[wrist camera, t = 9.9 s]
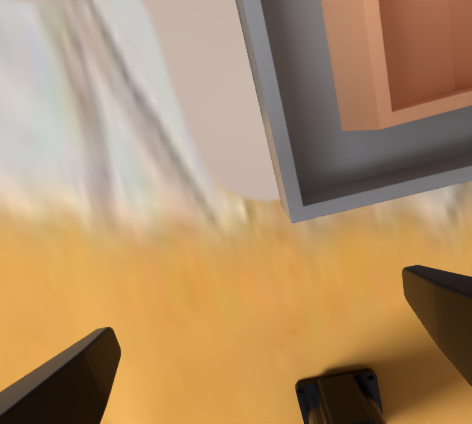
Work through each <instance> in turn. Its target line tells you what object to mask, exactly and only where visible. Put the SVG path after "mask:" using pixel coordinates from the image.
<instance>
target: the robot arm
mask: <svg viewBox="0 0 472 424" xmlns="http://www.w3.org/2000/svg"><path fill="white" fill-rule="evenodd" d="M402 278H403V287H404V295H405V298H406V300H407V302H408V303H409V305H410V306H411V308H412V309H413V311H414V312H415V314H416V315H417V316H418V318H419V319H420V321H421V322H422V324H423V325H424V327H425V328H426V330H427V331H428V333H429V334H430V336H431V337H432V339H433V340H434V341H435V343H436V344H437V345H438V347H439V348H440V349H441V351H442V352H443V353H444V354H445V355H446V357H447V358H448V359H449V360H450V361H451V363H452V364H453V365H454V366H455V367H456V369H457V370H458V371H459V372H460V373H461V374H462V376H463V377H464V378H465V379H466V380H467V382H468V383H469V384H470V385H471V386H472V277H470V276H465V275H461V274H456V273H452V272H447V271H443V270H438V269H434V268H430V267H425V266H421V265H414V266H409V267H405V268H403V270H402ZM120 357H121V349H120V346H119V343H118V341H117V338H116V335H115V333H114V331H113V329H112V328H111V327H104V328H99V329H97V330H95V331H93V332H92V333H90V334H89V335H87V336H86V337H84V338H83V339H81V340H80V341H78V342H77V343H75V344H73V345H72V346H70V347H69V348H67V349H66V350H64V351H63V352H61V353H60V354H58V355H57V356H55V357H53V358H52V359H50V360H49V361H47V362H46V363H44V364H43V365H41V366H40V367H38V368H37V369H35V370H33V371H32V372H30V373H29V374H27V375H26V376H24V377H23V378H21V379H20V380H18V381H17V382H15V383H13V384H12V385H10V386H9V387H7V388H6V389H4V390H3V391H1V392H0V424H100V422H101V420H102V417H103V414H104V411H105V409H106V406H107V403H108V399H109V396H110V393H111V389H112V385H113V382H114V378H115V375H116V371H117V368H118V364H119V361H120ZM369 375H370V376H369ZM301 388H303V389H301ZM295 390H296V394H297V398H298V402H299V406H300V409H301V413H302V417H303V421H304V424H387V423H386V421H385V419H384V417H383V411H382V405H381V399H380V393H379V387H378V381H377V376H376V374H375V372H374V371H373V370H372V369H364V370H359V371H354V372H348V373H343V374H338V375H333V376H328V377H323V378H318V379H313V380H307V381H302V382H298V383H297V384H296V385H295Z"/></svg>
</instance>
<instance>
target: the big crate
mask: <svg viewBox="0 0 472 424" xmlns="http://www.w3.org/2000/svg"><path fill="white" fill-rule="evenodd" d="M236 5H237V9H238V14H239V18H240V22H241V27H242V31H243V35H244V40H245V45H246V49H247V53H248V57H249V62H250V67H251V71H252V76H253V80H254V84H255V89H256V93H257V98H258V102H259V106H260V111H261V115H262V119H263V124H264V128H265V133H266V137H267V142H268V146H269V151H270V155H271V159H272V164H273V168H274V173H275V177H276V182H277V186H278V190H279V195H280V199H281V204H282V207H283V209H284V211H285V212H286V214H287V216H288V218H289V219H290V221H291V223H296V222H300V221H304V220H309V219H313V218H317V217H321V216H325V215H329V214H334V213H338V212H342V211H346V210H350V209H354V208H359V207H363V206H367V205H371V204H375V203H379V202H384V201H388V200H392V199H396V198H400V197H404V196H409V195H413V194H417V193H421V192H425V191H429V190H433V189H438V188H442V187H446V186H450V185H454V184H458V183H463V182H467V181H471V180H472V105H471V106H467V107H463V108H459V109H456V110H452V111H448V112H444V113H441V114H437V115H433V116H429V117H425V118H422V119H418V120H414V121H410V122H407V123H403V124H399V125H395V126H392V127H388V128H384V129H380V130H359V131H342V127H341V121H340V115H339V109H338V103H337V97H336V91H335V85H334V79H333V73H332V67H331V61H330V55H329V49H328V43H327V37H326V31H325V25H324V19H323V13H322V7H321V1H320V0H236Z"/></svg>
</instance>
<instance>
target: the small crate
mask: <svg viewBox="0 0 472 424" xmlns="http://www.w3.org/2000/svg"><path fill="white" fill-rule="evenodd" d="M320 1H321V7H322V13H323V19H324V25H325V31H326V37H327V43H328V49H329V55H330V61H331V67H332V73H333V79H334V85H335V91H336V97H337V103H338V109H339V115H340V121H341V127H342V131H359V130H380V129H384V128H388V127H392V126H395V125H399V124H403V123H407V122H410V121H414V120H418V119H422V118H425V117H429V116H433V115H437V114H441V113H444V112H448V111H452V110H456V109H459V108H463V107H467V106H471V105H472V0H320Z"/></svg>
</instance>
